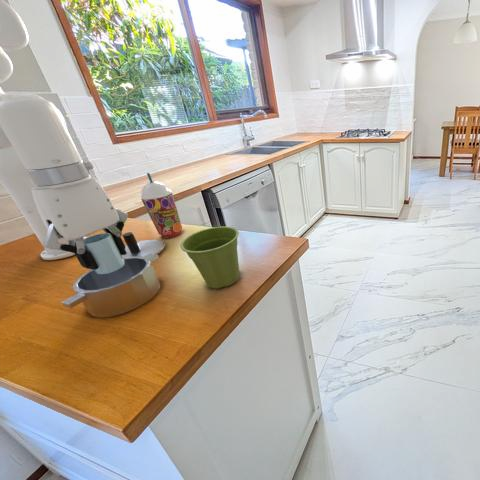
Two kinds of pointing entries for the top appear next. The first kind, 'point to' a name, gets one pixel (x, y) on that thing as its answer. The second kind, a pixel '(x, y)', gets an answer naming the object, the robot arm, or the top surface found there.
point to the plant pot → (214, 255)
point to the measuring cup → (104, 252)
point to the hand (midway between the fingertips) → (106, 260)
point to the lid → (141, 246)
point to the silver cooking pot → (117, 288)
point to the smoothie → (161, 208)
